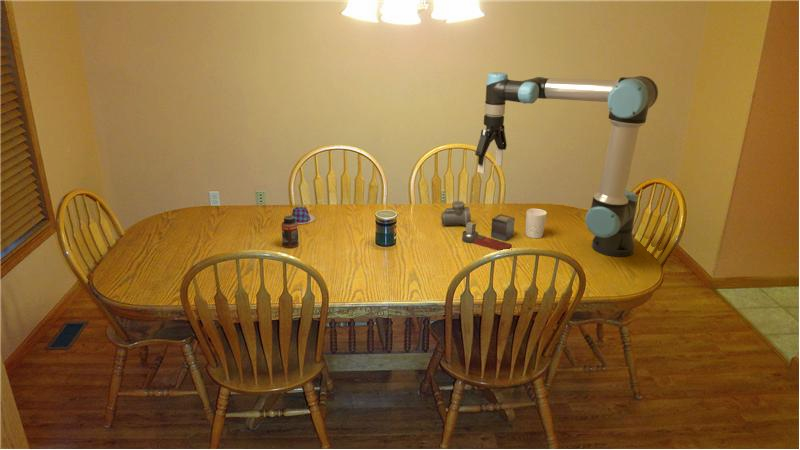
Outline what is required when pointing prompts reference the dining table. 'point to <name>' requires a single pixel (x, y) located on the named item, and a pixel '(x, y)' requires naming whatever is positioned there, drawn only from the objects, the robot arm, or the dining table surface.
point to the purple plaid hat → (302, 215)
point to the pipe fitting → (456, 214)
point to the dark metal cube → (502, 227)
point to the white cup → (535, 222)
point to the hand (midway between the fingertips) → (489, 169)
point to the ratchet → (482, 239)
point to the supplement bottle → (290, 232)
